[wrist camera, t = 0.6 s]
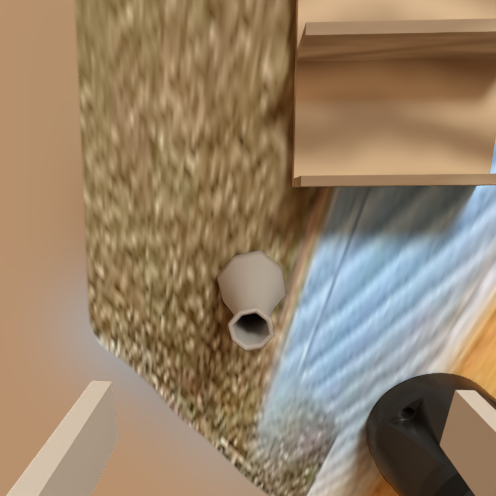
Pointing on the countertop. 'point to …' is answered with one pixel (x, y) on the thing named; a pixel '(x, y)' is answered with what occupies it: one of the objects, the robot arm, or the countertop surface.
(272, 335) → the flask
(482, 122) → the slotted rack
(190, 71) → the countertop surface
